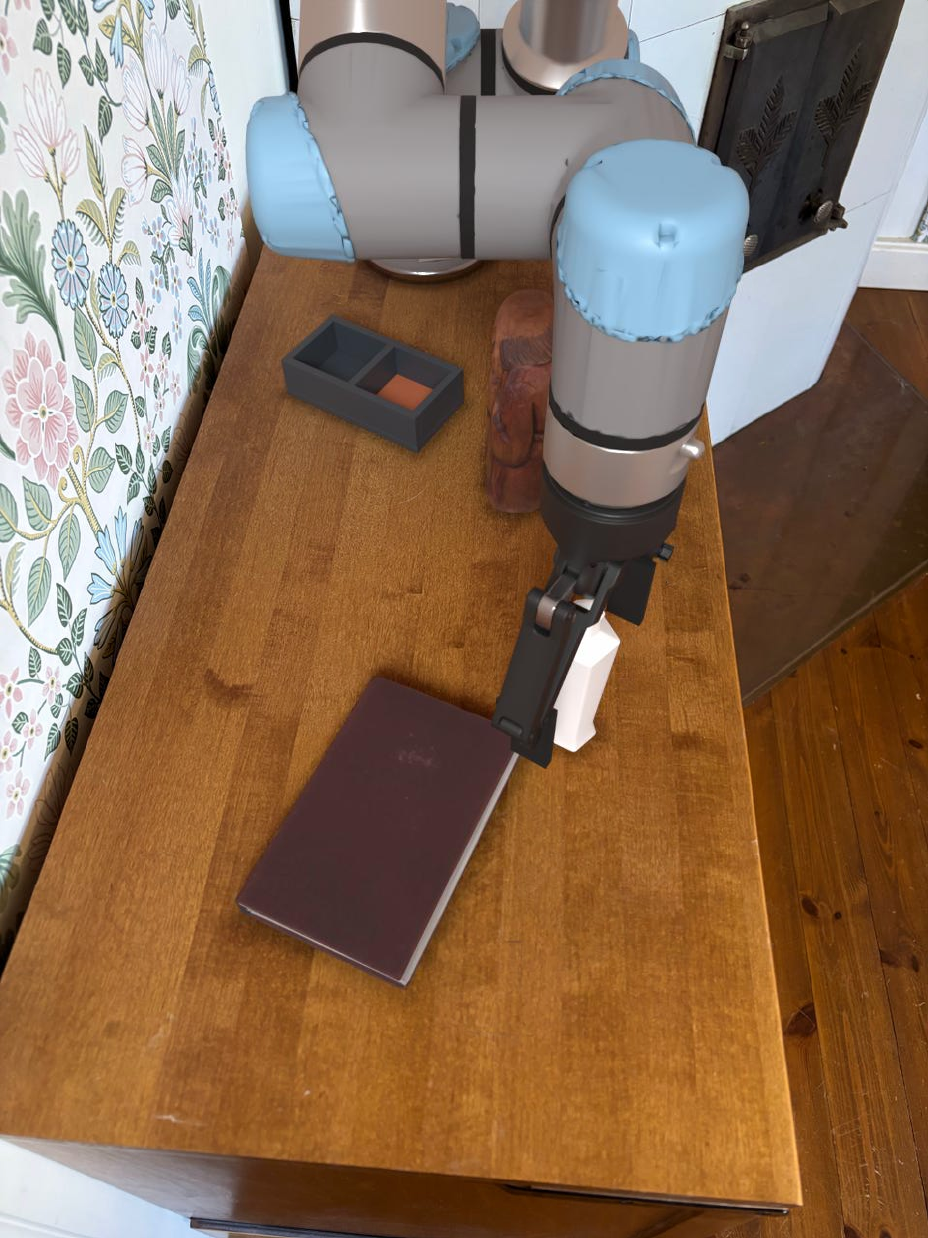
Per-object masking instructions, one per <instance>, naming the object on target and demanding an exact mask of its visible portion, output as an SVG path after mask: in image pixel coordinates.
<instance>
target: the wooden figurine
mask: <svg viewBox="0 0 928 1238" xmlns="http://www.w3.org/2000/svg"><path fill="white" fill-rule="evenodd" d="M553 323H554V295H552V294H551V293H550V292H547V291H546V290H543V289H538V288H537V289H536V288H525V289H520V290H517V291H515V292H513V293H511V294H510V295H508V296H507V297H506V298H505V299H504V300H503V302H502V303H501V305H500V306H499V308H498V310H497V312H496V315H495V320H494V323H493V324H494V325H493V333H492V340H491V342H492V355H491V362H492V366H491V368H490V372H489V376H488V385H487V386H488V387H487V393H488V394H487V395H488V403H487V409H486V423H485V424H486V425H485V457H486V464H485V465H486V467H485V468H486V469H485V471H486V474H485V482H486V484H485V485H486V493H487V496H488V500H489V502H490V505H491V507H492V509H494V510H496V511H499V512H501V513H511V514H523V513H524V514H530V513H534V512H535V511H537V510H538V509H540V492H541V479H542V466H543V460H544V459H543V443H544V432H545V422H546V411H547V401H548V390H549V384H550V378H551V367H552V344H553Z"/></svg>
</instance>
